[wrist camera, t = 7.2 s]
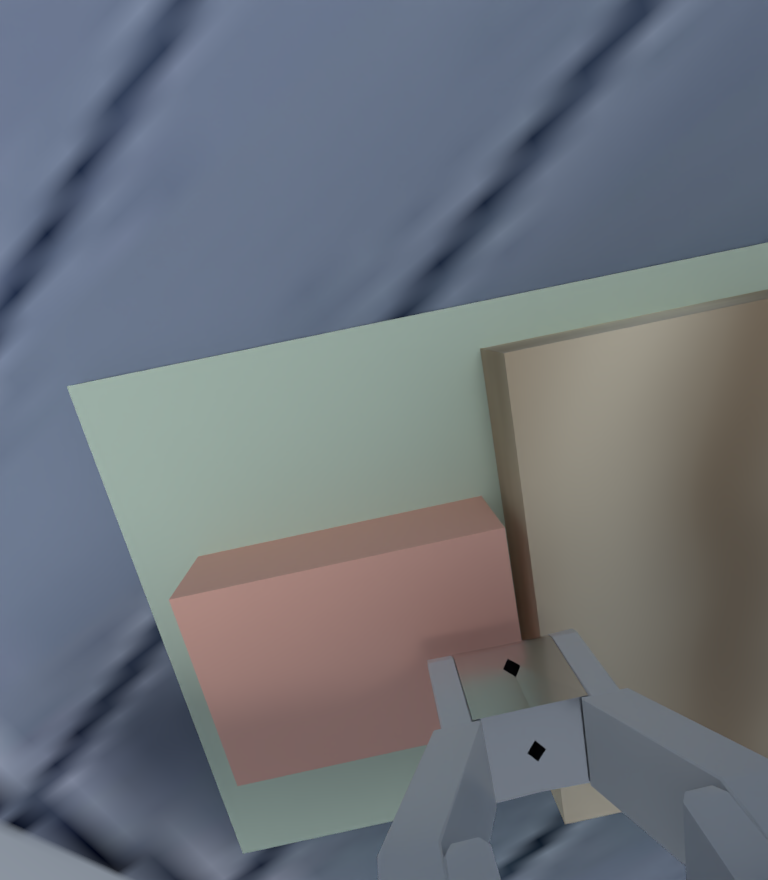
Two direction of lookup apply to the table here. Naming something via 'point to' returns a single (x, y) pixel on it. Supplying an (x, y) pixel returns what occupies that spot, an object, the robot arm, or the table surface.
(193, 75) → the table surface
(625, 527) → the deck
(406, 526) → the tile
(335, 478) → the mat
